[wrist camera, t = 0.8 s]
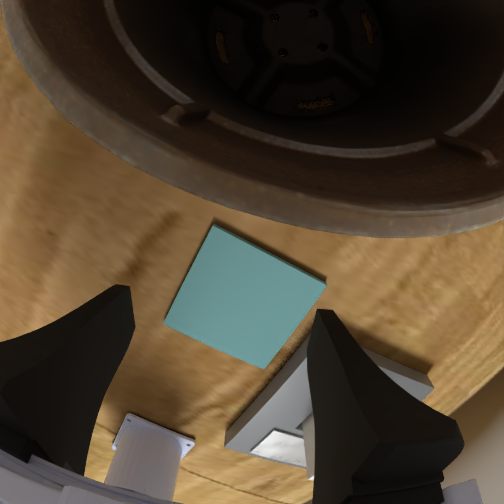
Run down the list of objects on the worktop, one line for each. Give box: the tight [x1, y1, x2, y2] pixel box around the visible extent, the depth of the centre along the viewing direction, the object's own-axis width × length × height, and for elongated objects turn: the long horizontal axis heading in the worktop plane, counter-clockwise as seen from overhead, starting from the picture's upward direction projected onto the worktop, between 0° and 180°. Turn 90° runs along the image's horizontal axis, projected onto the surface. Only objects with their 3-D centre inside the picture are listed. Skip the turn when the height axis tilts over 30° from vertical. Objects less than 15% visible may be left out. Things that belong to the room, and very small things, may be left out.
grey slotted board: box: [224, 333, 434, 469], centre depth 27 cm, size 16×14×2 cm
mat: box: [163, 224, 327, 369], centre depth 24 cm, size 9×9×1 cm
